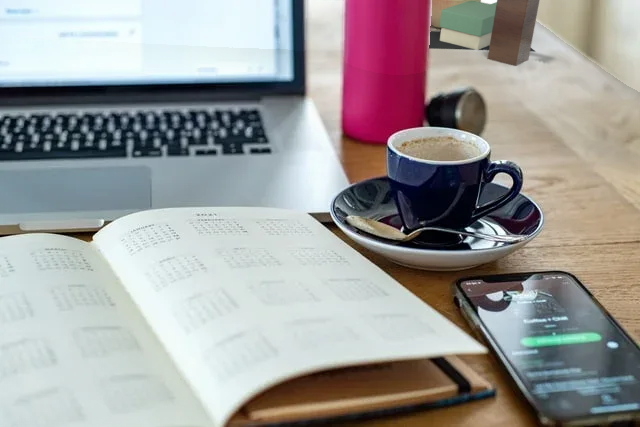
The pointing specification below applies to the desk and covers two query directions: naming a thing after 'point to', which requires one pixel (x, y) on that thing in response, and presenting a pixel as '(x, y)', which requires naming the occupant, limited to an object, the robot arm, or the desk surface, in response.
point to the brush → (468, 24)
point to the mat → (438, 44)
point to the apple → (439, 3)
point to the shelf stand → (513, 31)
